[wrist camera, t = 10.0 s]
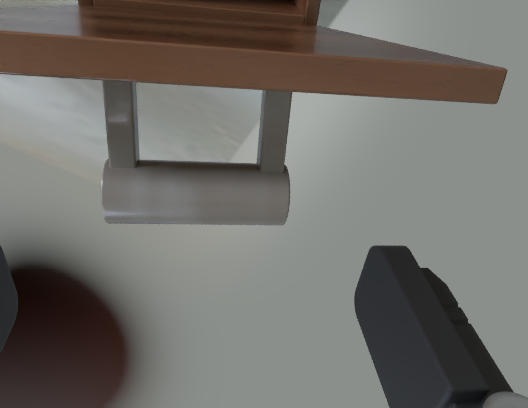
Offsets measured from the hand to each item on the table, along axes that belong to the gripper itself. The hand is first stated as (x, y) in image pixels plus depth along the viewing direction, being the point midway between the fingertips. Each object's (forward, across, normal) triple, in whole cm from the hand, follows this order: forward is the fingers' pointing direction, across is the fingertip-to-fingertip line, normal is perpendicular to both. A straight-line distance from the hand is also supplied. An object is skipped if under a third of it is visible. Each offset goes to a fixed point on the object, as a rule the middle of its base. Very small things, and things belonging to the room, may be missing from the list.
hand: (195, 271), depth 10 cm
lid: (+10, 0, -3) cm, 11 cm away
